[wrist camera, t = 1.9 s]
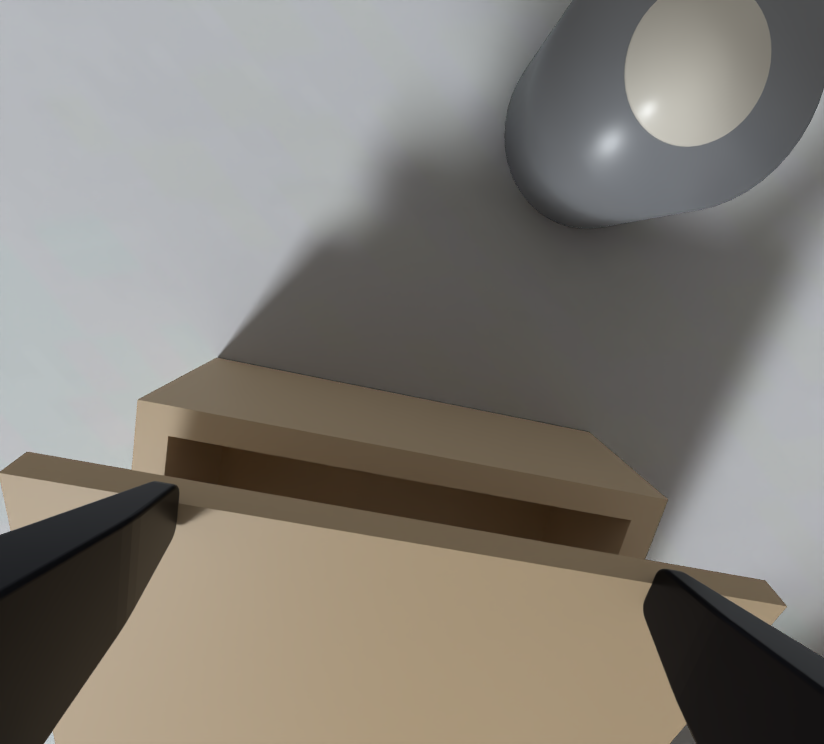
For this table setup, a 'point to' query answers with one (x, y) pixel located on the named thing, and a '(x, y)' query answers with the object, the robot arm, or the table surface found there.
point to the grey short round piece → (662, 105)
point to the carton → (394, 457)
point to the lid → (365, 627)
